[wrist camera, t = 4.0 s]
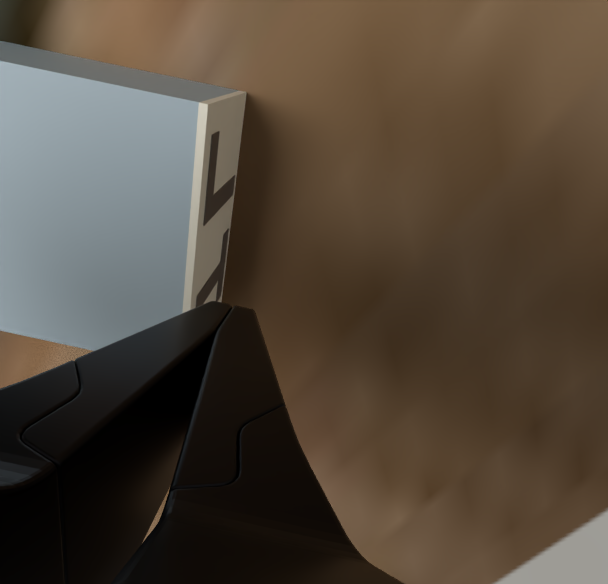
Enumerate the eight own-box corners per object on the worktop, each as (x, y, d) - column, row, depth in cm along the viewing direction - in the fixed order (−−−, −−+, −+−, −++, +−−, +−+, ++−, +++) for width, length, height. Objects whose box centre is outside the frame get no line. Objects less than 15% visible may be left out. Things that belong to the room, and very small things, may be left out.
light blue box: (185, 370, 13) (-96, 309, 13) (222, 303, 17) (0, 256, 17) (209, 104, 10) (-160, 27, 10) (248, 92, 14) (-25, 35, 14)
